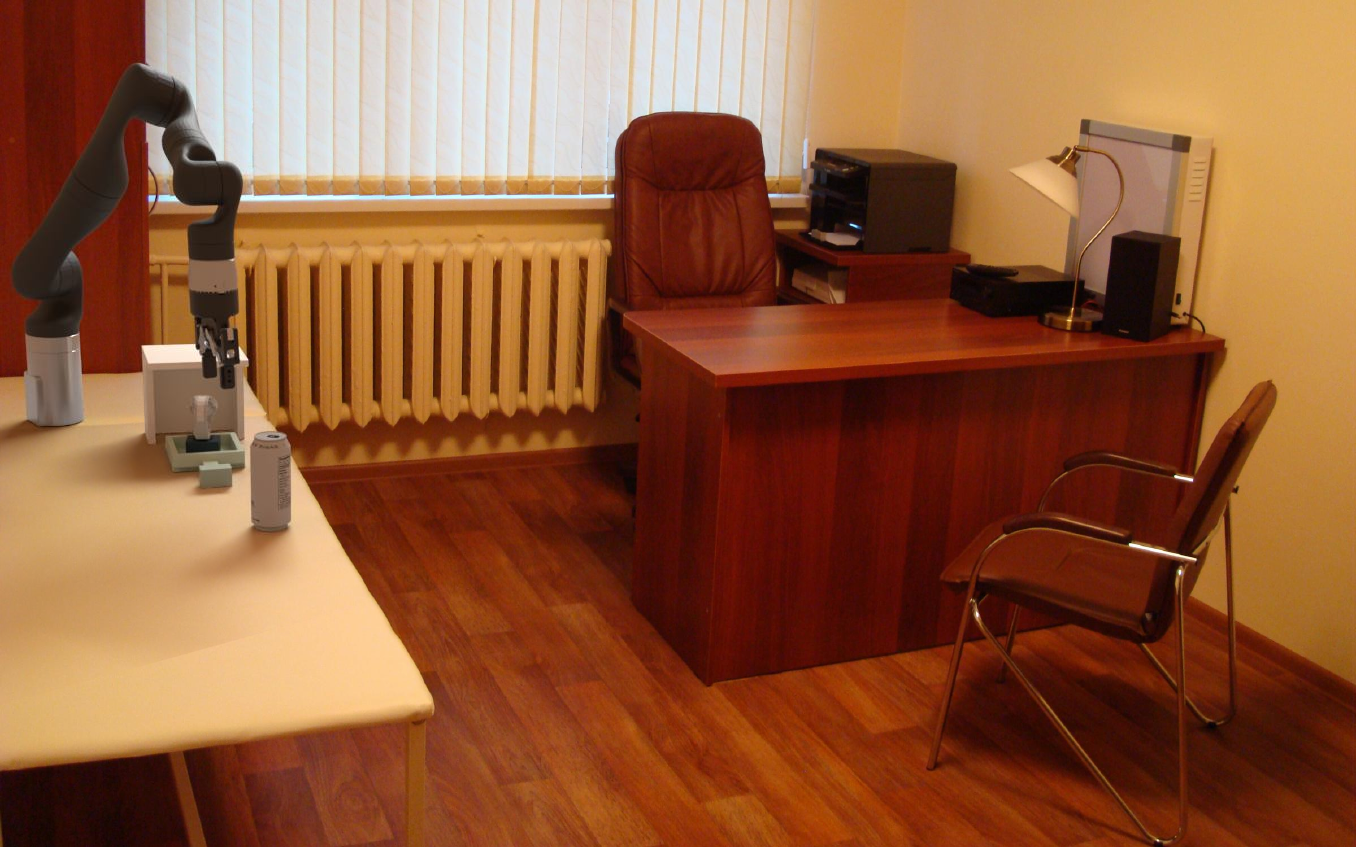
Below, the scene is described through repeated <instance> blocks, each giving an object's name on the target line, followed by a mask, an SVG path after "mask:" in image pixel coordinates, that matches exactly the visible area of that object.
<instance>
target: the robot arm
mask: <svg viewBox="0 0 1356 847" xmlns="http://www.w3.org/2000/svg"><path fill="white" fill-rule="evenodd" d="M192 97H193V96H192V93H191V92H190V89H189V87H188V86H187V85H186V83H184V81H182V80H181V79H179V78H177V77H175V76H174V75H170V74H169V73H166V72H165V71H164V72H163V71H161V70H159V69H156V68H154V67H152V66H149V65H147V64H144V63H140V62H135V63H132V64H130V66H128V67H127V68H126V69H125V71H124V72H123V74H122V75H121V76H120V78H119V80H118V82H117V85H116V86H115V88H114V90H113V92H112V94H111V97H110V98H109V101H108V103H107V105H106V108H105V110H104V112H103V114H102V116H101V118H100V120H99V123H98V125H97V127H96V129H95V130H94V133H93V134H92V136H91V138H90V139H89V141H88V144H87V145H86V146H85V148H84V150H83V151H82V153H81V155H80V156H79V158H78V159H77V161H76V162H75V164H74V165H73V167H72V169H71V171H70V173H69V174H68V176H67V178H66V179H65V181H64V183H63V185H62V187H61V188H60V191H59V193H58V195H57V196H56V197H55V199H54V201H53V202H52V204H51V206H50V207H49V210H48V211H47V213H46V215H45V216H44V218H43V219H42V221H41V223H40V224H39V226H38V227H37V229H36V230H35V231H34V233H33V234H32V236H31V237H30V238H29V239H28V240H27V242H26V243H25V244H24V246H23V247H22V248H21V249H20V251H19V252H18V254H17V255H16V257H15V259H14V261H13V263H12V265H11V269H10V281H11V284H12V287H13V289H14V291H15V292H16V293H17V294H18V295H19V296H20V297H22V298H23V299H27V300H35V301H40V302H39V304H38V305H37V307H36V309H35V310H33V311H32V312H31V313H30V314H29V315H28V316H27V317H26V318H25V321H24V334H25V336H24V337H25V347H26V349H25V350H26V363H27V370H25V371H24V372H23V377H24V392H25V394H24V395H25V408H26V410H25V411H26V419H27V420H28V421H29V422H30V423H31V422H32V424H34V425H35V426H37V427H44V426H45V427H61V426H67V425H69V426H70V425H74V424H79V423H81V422H82V421H83V420H84V419H85V415H84V412H85V411H84V410H85V409H84V392H83V374H82V358H81V338H80V337H81V336H80V324H81V321H82V319H83V314H84V276H83V268H82V266H81V263H80V260H79V258H78V257H77V255H76V254H75V253H74V251H73V250H74V248H75V247H76V246H78V244H79V243H80V242H82V241H84V239H85V238H87V237H88V236H90V234H92V233H93V232H94V231H95V230H97V229H98V228H99V227H101V225H103V224H104V222H106V220H108V219H109V217H110V216H111V215H112V214H113V212H114V211H115V209H116V208H117V206H118V205H119V203H120V201H121V200H122V198H123V196H124V195H125V193H126V191H127V189H128V185H129V169H128V164H127V158H126V152H125V144H124V143H125V142H124V137H125V133H126V128H127V126H128V124H129V123H130V121H131V120H132V119H134V118H135V119H136V120H139V121H141V122H144V123H147V124H149V125H152V126H155V127H159V128H163V129H164V130H163V134H162V136H161V147H162V151H163V153H164V155H165V158H166V159H167V161H168V162H169V164H170V166H171V167H172V181H171V182H172V183H171V184H172V192H173V194H174V196H175V198H176V199H177V200H178V201H179V202H180V203H182V204H184V205H186V206H189V207H190V206H191V207H200V206H201V207H203V206H204V207H205V206H207V207H209V206H210V207H211V206H215V207H216V206H217V208H216V210H215V212H214V213H213V215H212V216H210V217H208V218H204V219H201V220H196V221H192V222H191V223H190V224H189V225H188V226H187V231H186V232H187V235H186V236H187V249H188V250H187V251H188V252H187V253H188V270H187V275H188V276H187V280H188V294H189V310H190V314H191V315H192V316H193V317H194V341H195V343H194V344H195V347H196V350H199V354H200V356H202V373H203V377H204V378H206V379H207V378H215V377H217V362H216V356H217V359H218V363H219V366H220V367H219V374H220V387H221V388H222V389H232V388H234V387H235V373H234V366H235V365H236V364H240V356H239V347H240V345H239V343H240V342H239V329H238V328H237V327H236V326H234V327H231V325H230V321H229V318H231V317H234V316H237V315H238V314H239V313H240V304H239V303H240V301H239V282H238V269H237V265H236V258H235V257H236V255H235V253H236V252H235V225H236V221H237V220H236V219H237V215H238V210H239V206H240V203H241V199H242V195H243V190H244V179H243V175H242V172H241V170H240V169H239V167H238V166H237V164H235V163H233V162H231V161H229V160H217V157H216V153H215V151H214V149H213V148H212V146H211V144H210V143H209V141H208V140H207V138H206V137H205V134H204V133H203V132H202V130H201V127H200V124H199V119H198V115H197V112H196V108H195V104H194V101H193V98H192ZM227 354H228V355H229V357H227ZM215 355H216V356H215Z"/></svg>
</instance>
